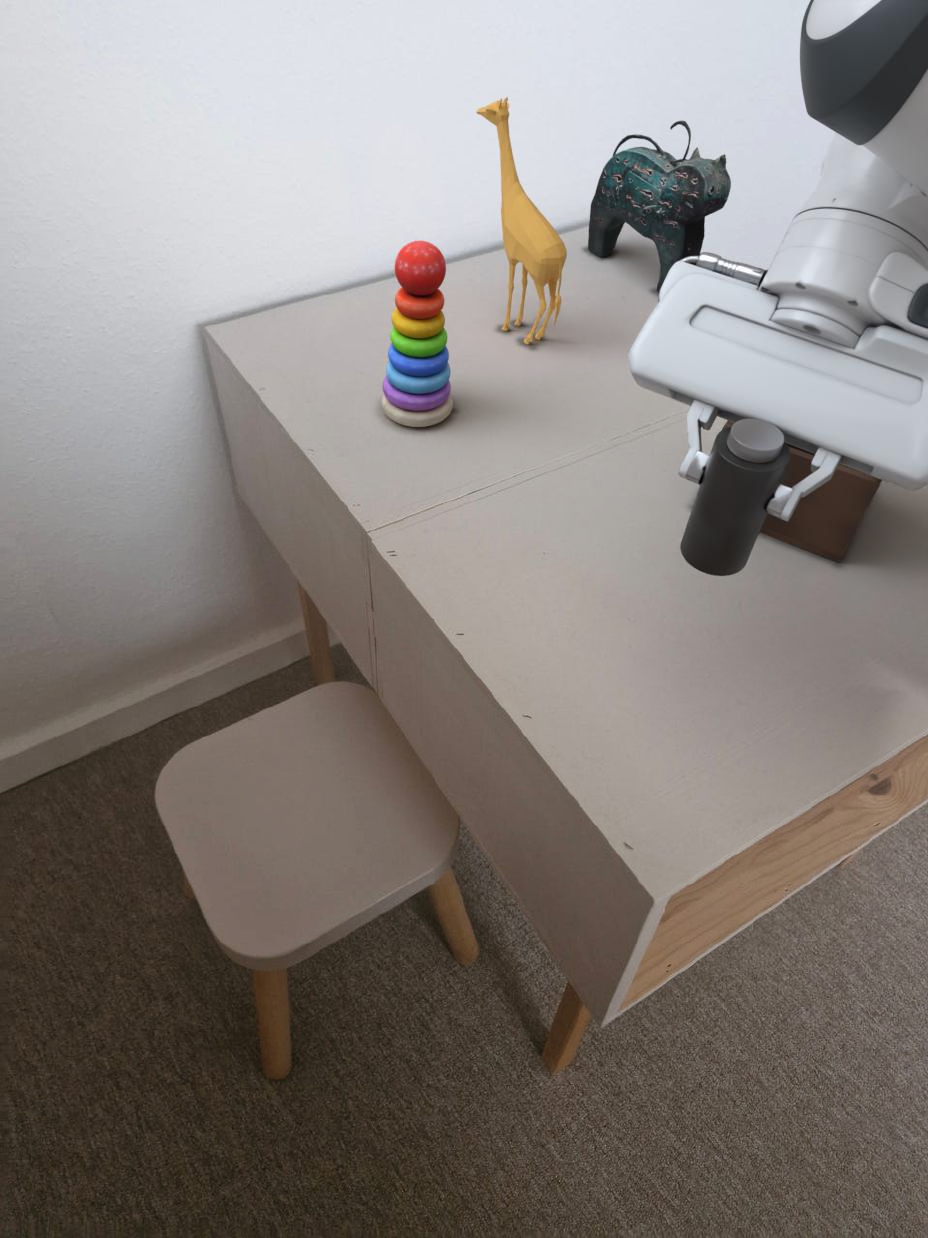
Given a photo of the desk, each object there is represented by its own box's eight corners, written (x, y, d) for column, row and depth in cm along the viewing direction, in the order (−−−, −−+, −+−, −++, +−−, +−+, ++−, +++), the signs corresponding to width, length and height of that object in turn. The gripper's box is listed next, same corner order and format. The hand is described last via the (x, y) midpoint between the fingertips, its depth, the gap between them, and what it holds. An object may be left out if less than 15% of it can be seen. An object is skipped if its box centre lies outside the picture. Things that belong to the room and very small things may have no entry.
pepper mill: (755, 545, 59) (805, 427, 52) (734, 586, 56) (784, 467, 49) (693, 521, 61) (733, 402, 53) (670, 559, 58) (708, 440, 50)
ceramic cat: (705, 297, 115) (748, 138, 100) (671, 310, 113) (711, 149, 98) (605, 240, 126) (631, 88, 111) (573, 251, 123) (595, 96, 108)
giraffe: (456, 304, 111) (465, 89, 93) (482, 294, 113) (495, 83, 95) (540, 360, 103) (568, 137, 85) (566, 349, 105) (599, 129, 86)
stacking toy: (451, 432, 93) (458, 266, 79) (378, 429, 93) (372, 262, 79) (453, 391, 98) (460, 229, 84) (384, 388, 98) (379, 224, 84)
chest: (696, 507, 86) (722, 428, 79) (735, 444, 94) (762, 366, 86) (838, 562, 82) (880, 484, 74) (868, 492, 89) (908, 414, 82)
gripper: (676, 221, 53) (578, 426, 55) (1020, 327, 46) (896, 558, 48) (687, 264, 59) (599, 448, 60) (994, 364, 52) (884, 568, 54)
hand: (732, 497), depth 54 cm, fingers closed on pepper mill, 4 cm apart
